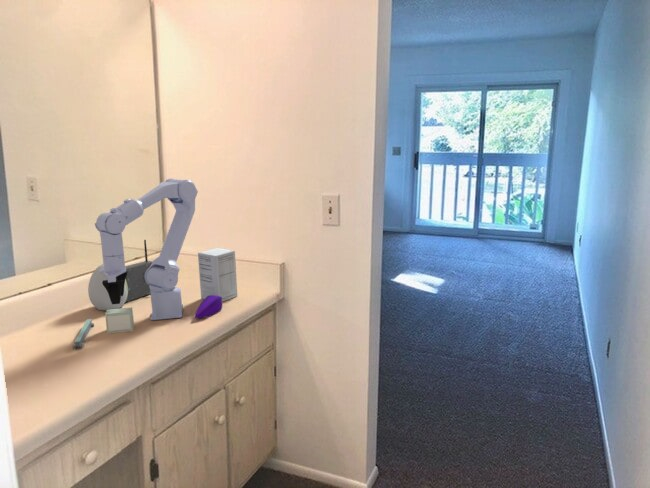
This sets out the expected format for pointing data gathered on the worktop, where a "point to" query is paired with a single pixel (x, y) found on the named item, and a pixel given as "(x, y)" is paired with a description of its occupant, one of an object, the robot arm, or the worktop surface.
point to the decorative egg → (103, 291)
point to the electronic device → (137, 278)
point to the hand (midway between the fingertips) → (117, 299)
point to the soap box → (119, 320)
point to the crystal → (209, 306)
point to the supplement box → (218, 273)
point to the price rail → (83, 334)
